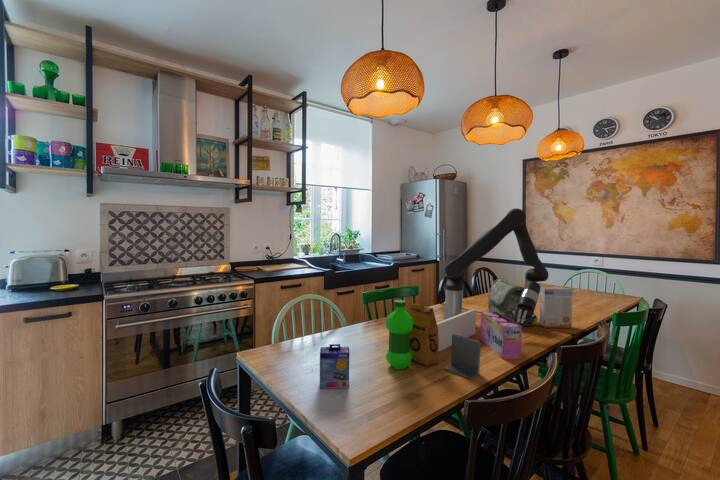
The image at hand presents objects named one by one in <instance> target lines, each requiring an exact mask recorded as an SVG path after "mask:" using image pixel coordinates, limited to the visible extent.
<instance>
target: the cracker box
mask: <svg viewBox="0 0 720 480" xmlns="http://www.w3.org/2000/svg"><path fill="white" fill-rule="evenodd" d="M573 291H574V290H573V289H572V288H570V287H569V286H568V287H567V286H566V287H565V286H540V292H539V297H540V298H539V325H540V326H542V327H543V328H550V329H553V328H554V329H556V328H557V329H572V327H573V326H572V325H573V324H572V323H573V322H572V321H573Z"/></svg>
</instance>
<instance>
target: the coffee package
mask: <svg viewBox="0 0 720 480" xmlns="http://www.w3.org/2000/svg"><path fill="white" fill-rule="evenodd" d="M408 314H409V315H410V316H411V317H412V318H413V328H412V331H411V332H410V351H411V353H412V360H413V361H415V362H417V363H418V364H420V365H424V366H425V367H430V366H433V365H436V364H438V363H439V352H438V349H439V339H438V326H437V323H438V321H437V319H436V315H435V312H434V309H433V307H430V306H426V305H421V304H418V303H413V302H412V303H411V304H410V311H409V313H408Z"/></svg>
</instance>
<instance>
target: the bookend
mask: <svg viewBox="0 0 720 480" xmlns="http://www.w3.org/2000/svg"><path fill="white" fill-rule="evenodd" d="M450 361H451V362H450V363H451V364H449V365H447V366H445V367H444V370H443V371H446V372H449V373H451V374H454V375H457V376H460V377H463V378H465V379H469V380H470V379H471V380H473V379H474V378H476V377H477V376H478V375H480V371H481V369H480V368H481V365H480V363H481V340H477V339H474V338H469V337H467V338H466V337H463V336H459V335H455V334H453V335H452V345H451V359H450Z"/></svg>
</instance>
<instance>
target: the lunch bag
mask: <svg viewBox="0 0 720 480" xmlns="http://www.w3.org/2000/svg"><path fill="white" fill-rule="evenodd" d="M523 290H524V286H520V285H517V284H514V283H512V282H509V280H507V279H504V278H499V279H498V278H497V279H495V280H493V282H492V283H491V287H490V290H489V292H488V295H487V297H488V299H487V305H488V307H487V308H488V312H489V313H492V312H493V311H496V312H498V313H500V314H501V315H503V316H505V317H507V318H508V319H510V320H512V321H514V320H513V318H512V316H511V314H510V311H515V309H516V308H517V305H518V302H519V300H520V297H521V294H522V292H523ZM515 318H516V320H517V319H518V316H517V314H516V313H515ZM529 319H530V318H529ZM527 320H528V319H527ZM533 325H534V322H533V323H532V324H530V325H528V326H527V325H524V326H525V327H526V326H527V327H529V326H533Z"/></svg>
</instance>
